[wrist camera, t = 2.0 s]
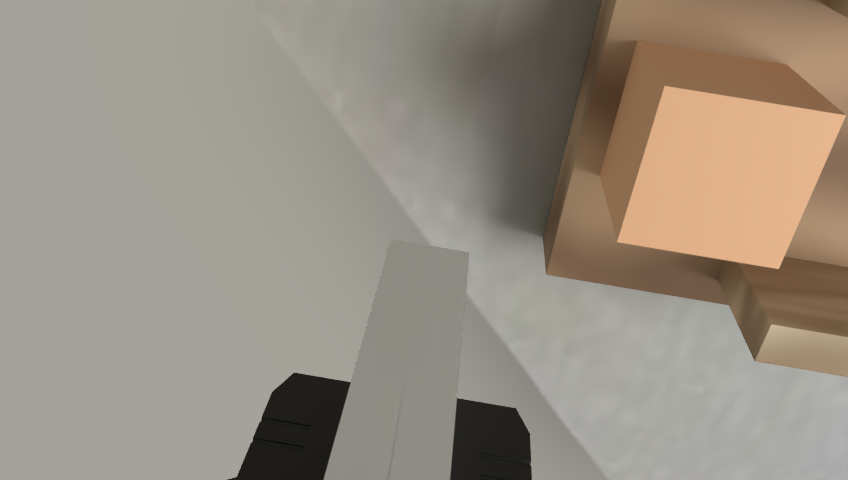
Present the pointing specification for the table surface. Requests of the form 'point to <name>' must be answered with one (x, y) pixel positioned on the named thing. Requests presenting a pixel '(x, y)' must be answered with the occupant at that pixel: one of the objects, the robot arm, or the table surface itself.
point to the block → (715, 154)
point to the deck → (696, 275)
